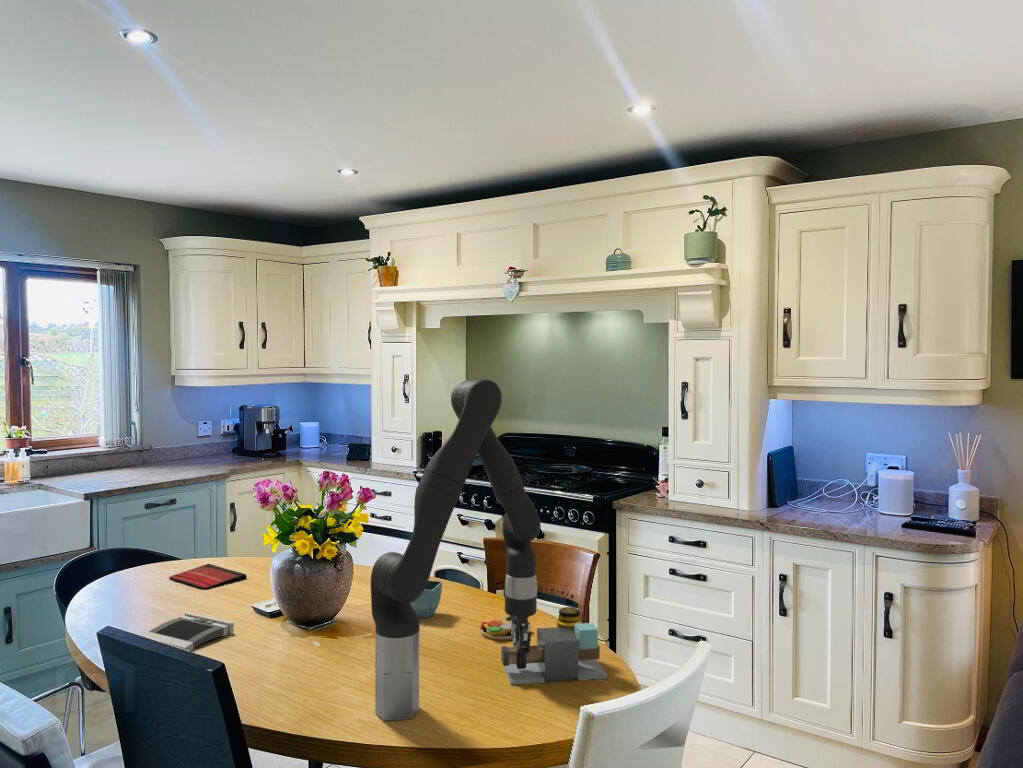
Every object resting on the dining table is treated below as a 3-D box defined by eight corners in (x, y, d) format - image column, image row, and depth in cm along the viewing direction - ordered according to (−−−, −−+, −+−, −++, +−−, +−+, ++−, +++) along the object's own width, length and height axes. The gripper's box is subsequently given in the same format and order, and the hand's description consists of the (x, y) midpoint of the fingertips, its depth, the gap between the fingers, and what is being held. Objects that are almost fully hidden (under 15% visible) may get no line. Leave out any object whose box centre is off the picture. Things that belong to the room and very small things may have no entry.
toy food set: (517, 622, 218) (517, 611, 218) (536, 638, 206) (536, 626, 206) (473, 628, 213) (473, 616, 213) (490, 645, 200) (490, 633, 200)
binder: (209, 562, 267) (247, 573, 255) (209, 569, 267) (247, 580, 255) (166, 575, 254) (204, 587, 242) (166, 582, 254) (204, 594, 242)
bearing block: (578, 680, 179) (578, 640, 178) (544, 682, 177) (545, 642, 177) (568, 665, 188) (569, 626, 187) (536, 666, 186) (537, 628, 186)
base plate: (606, 678, 180) (607, 674, 180) (510, 684, 176) (510, 680, 176) (596, 663, 189) (596, 659, 189) (504, 668, 185) (504, 664, 185)
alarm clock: (233, 622, 206) (184, 637, 191) (232, 639, 206) (182, 655, 191) (188, 612, 214) (137, 625, 199) (187, 629, 213) (136, 643, 199)
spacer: (597, 648, 182) (597, 629, 181) (579, 649, 181) (579, 630, 181) (592, 641, 186) (592, 622, 186) (574, 642, 185) (574, 623, 185)
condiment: (575, 664, 188) (575, 616, 188) (544, 657, 192) (545, 610, 192) (587, 654, 194) (587, 607, 194) (557, 648, 199) (557, 602, 198)
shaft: (599, 660, 182) (599, 646, 182) (503, 666, 178) (503, 651, 178) (595, 654, 186) (595, 641, 186) (501, 660, 182) (501, 646, 182)
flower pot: (403, 618, 219) (403, 587, 219) (414, 608, 228) (414, 578, 227) (432, 621, 217) (432, 590, 217) (442, 611, 225) (442, 581, 225)
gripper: (542, 601, 174) (541, 676, 175) (530, 583, 188) (529, 652, 188) (510, 603, 173) (509, 678, 173) (500, 584, 186) (499, 654, 187)
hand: (519, 664), depth 181 cm, fingers closed on shaft, 3 cm apart
